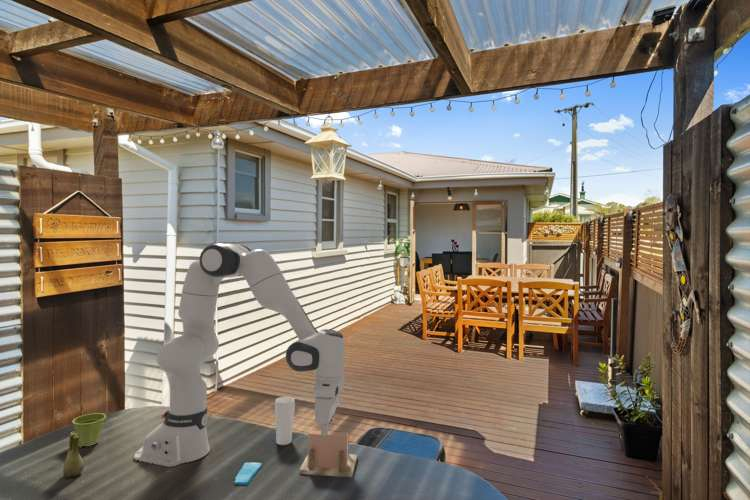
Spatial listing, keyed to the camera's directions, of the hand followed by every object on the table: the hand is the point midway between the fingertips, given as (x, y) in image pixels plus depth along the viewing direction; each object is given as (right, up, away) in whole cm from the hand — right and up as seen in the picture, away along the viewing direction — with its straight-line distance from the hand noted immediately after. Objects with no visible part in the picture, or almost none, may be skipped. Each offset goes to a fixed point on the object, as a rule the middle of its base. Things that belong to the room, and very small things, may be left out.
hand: (327, 428), depth 127 cm
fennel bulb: (-74, -11, -6) cm, 75 cm away
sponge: (-24, -13, -4) cm, 27 cm away
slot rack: (0, -13, +2) cm, 13 cm away
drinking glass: (-17, -13, +18) cm, 28 cm away
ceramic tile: (0, -11, 0) cm, 11 cm away
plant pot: (-83, -11, +13) cm, 85 cm away
